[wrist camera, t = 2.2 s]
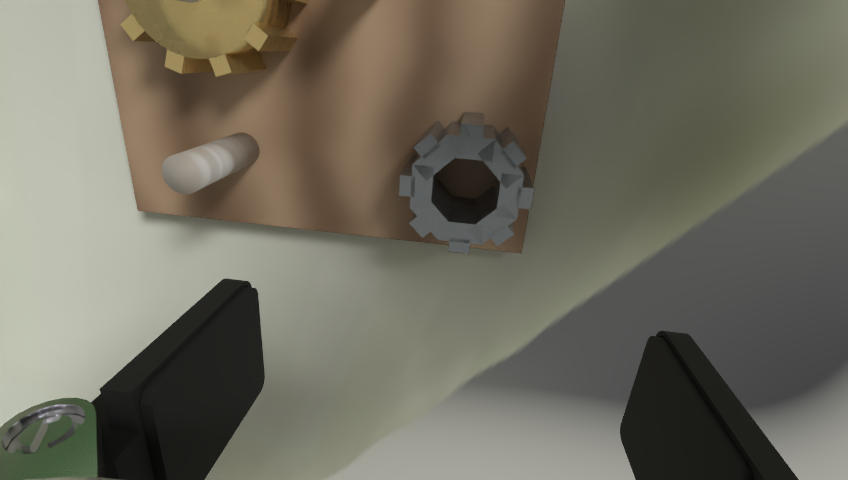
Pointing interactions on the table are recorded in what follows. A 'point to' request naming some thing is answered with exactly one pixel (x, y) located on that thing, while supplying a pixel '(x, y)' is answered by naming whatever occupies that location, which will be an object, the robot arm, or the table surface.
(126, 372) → the robot arm
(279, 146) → the board
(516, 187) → the steel gear
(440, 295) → the table surface
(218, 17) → the brass gear
